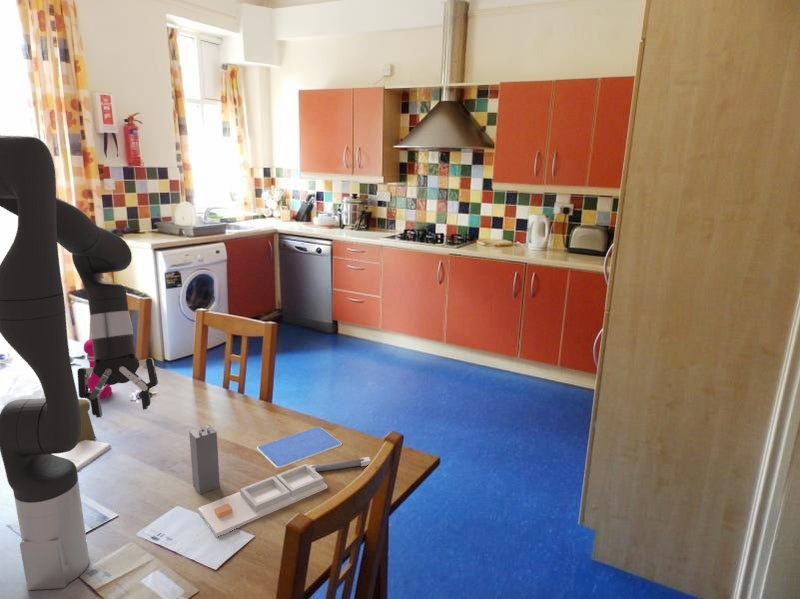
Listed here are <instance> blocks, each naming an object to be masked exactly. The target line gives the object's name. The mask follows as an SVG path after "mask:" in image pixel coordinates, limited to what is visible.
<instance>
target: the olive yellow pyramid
mask: <svg viewBox="0 0 800 599" xmlns="http://www.w3.org/2000/svg"><path fill="white" fill-rule="evenodd" d="M78 401H79V406H80V412H81V435H80V439H79V442H81V441H84V440H90V441H95V439H96V435H95V431H94V428H93V427H94V426H93V424H92V421H91V416H90V414H89V411H90V409H91V406H90V405H91V404H90V401H88V400H86V399H85V398H80V399H79V398H78ZM79 442H78V443H79Z"/></svg>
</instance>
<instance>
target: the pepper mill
mask: <svg viewBox="0 0 800 599" xmlns="http://www.w3.org/2000/svg"><path fill="white" fill-rule="evenodd" d="M83 351H84V353H85V354H86V360H87V361H88V362H89V368H93V367H94V365H95V359H94V351H93V344H92V336H91V335H90V339H87V340H86V341H85V342H84V344H83ZM99 380H100V378H99V377H98V376H97V375H96V374H95V373H94V372H93V373H92V374H91V377H90V378H88V392H92V391H93V390H94V388H95V386H96V384H97V383H98V381H99ZM112 389H113V388H112V386H111V385H108V384H107V385H106V386H105V388H104V389H103V390H102V392H101V393H100V395H99V398H100V399H103V398H102V397H104V398H107V397H109V396H111V395H112V393H113V390H112ZM110 394H111V395H110ZM108 395H109V396H108ZM106 396H107V397H106Z"/></svg>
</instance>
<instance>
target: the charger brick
mask: <svg viewBox="0 0 800 599" xmlns="http://www.w3.org/2000/svg"><path fill="white" fill-rule="evenodd" d="M188 432H189V445H190V457H191V458H190V459H191V471H192V473H191V474H192V484H193V488H195V491H197V494H199V495H202V494H205V493H207V492H210V491H213V490H216V489H218V488H220V487H221V486H220V485H221V482H220V466H219V465H220V464H219V450H218V449H219V448H218V435H217V434H218V433H217V431H216V429H214V428H213V427H212V426H211V424H209V425H205V426H202V427H198V428H195V429H192V430H189V431H188Z"/></svg>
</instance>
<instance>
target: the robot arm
mask: <svg viewBox="0 0 800 599" xmlns="http://www.w3.org/2000/svg"><path fill="white" fill-rule="evenodd" d="M0 208H3V210H6V211H8V212H9V213H12V214H13V215H16V216H17V228H16V229H17V230H16V234H15V237H14V239H13V242H12V243H11V246H10V247H9V249H8V251H7V253H6V254H5V256H4V257H3V259H2V261H1V262H0V334H1V336H2V337H3V339H4V340H5V341H6V342H7V343H8V344H9V346H10V347H11V348H12V349H13V350H14V351H15V352H16V353H17V355H19V356H20V358H22V359H23V360H24V362H25V363H27V365H28V366H29V367H30V368H31V369H32V370H33V372H34V373H35V375H36V377H37V379H38V380H39V382H40V385H41V388H42V390H43V394H44V397H45V398H44V397H43V398H42V397H41V398H24V399H23V398H22V399H15V400H11V401H9V402H8V403H7V404H6V405H5V406H4V407H3V408H2V409H1V411H0V455H1V459H2V462H3V466H4V470H5V475H6V479H7V483H8V486H9V487H10V488H11V489H12V492H13V497H14V501H15V502H14V503H15V508H16V514H17V520H18V526H19V533H20V538H21V542H20V543H19V549H20V554H21V560H22V566H23V572H24V576H25V584H26V590H27V591H31V590H32V591H34V590H49V589H50V590H53V589H66V588H67V586H68V585H69V583H71V582H73V581H74V580H75V579H77V578H78V577H79V576H81V575H82V574H83V573H84V572H85V570H86V569H87V568H88V566H89V563H90V556H89V548H88V540H87V534H86V527H85V519H84V512H83V506H82V498H81V490H80V483H79V475H78V471H77V468H76V466H75V464H74V463H73V462H72V461H70V460H68V459H65V458H62V457H58V456H59V455H58V456H57V455H56V454H62V453H64V452H68V451H71V450H72V449H74V448H75V447H76V445H77V444H78V442H79V439H80V435H81V412H80V406H79V401H78V399H79V398H80V399H88V400H89V402H90V405H91V406H90V409H91V414H92V415H93V416H95V417H96V419H98V418H102V417H103V410H102V402H101V398H99V395H100V393H101V392H102V390H103V389H104V388H105V386H106V385H107V384H108V385H110V386H114V385H117V384H126V383H129V382H132V384H134V385H135V386H137V387H138V388H139V389H140V391H141V392H140V396H141V397H140V398H141V399H140V400H141V405H142V407H141V408H142V410H143V411H145V410H148V408H149V406H151V402H152V401H151V394H150V390H151V388H154V387H156V386H157V385H158V383H159V380H158V375H157V370H156V365H155V360H154V358H153V357H148V358H147V359H140V360H139V359H138V357H137V354H136V344H135V339H134V327H133V323H132V318H131V316H130V311H129V303H128V297H127V296H128V295H127V290H126V287H125V286H124V285H123V284H120V283H111V282H109V283H108V282H104V281H103V280H102V278H101V277H100V274H107V273H108V274H109V273H116V272H118V273H119V272H121V271H124V270H126V269H128V267H129V266H130V265H131V263H132V260H133V259H132V257H133V256H132V251H131V249H130V247H129V245H128V243H127V242H126V241H125V240H124V239H123V237H121V236H119V235H117V234H115V233H113V232H111V231H109V230H107V229H105V228H104V227H100V226H98V225H97V224H96V223H95V222H94V221H93V219H91V218H90V217H89V216H88V215H87V214H86V213H85V212H83V210H81V209H80V208H79V207H77V206H75V205H73V204H72V203H70V202H67V201H65V200H64V199H61V198H59V197H57V177H56V168H55V164H54V159H53V156H52V153H51V151H50V149H49V147H48V146H47V145H46V143H45V142H44V141H42V140H41V139H40V138H38V137H35V136H28V135H5V134H4V135H2V134H0ZM58 245H60V246H61V247H62V248H63V249H65V250H66V251H67V252H69V253H70V254H71V259H72V263H73V266H74V267H75V269H76V271H77V273H78V276H79V278H80V280H81V282H82V285H83V287H84V289H85V292H86V293H85V294H86V296H87V301H88V302H87V303H88V309H89V317H90V319H89V322H90V324H89V325H90V326H89V327H90V334H91V335H90V336H92V344H93V351H94V359H95V365H94V367H93V368H90V367H80V368H78V369H77V384H78V385H77V386H78V388H77V387H76V383H75V378H74V373H73V368H72V364H71V358H70V349H69V347H70V346H69V341H68V340H69V339H68V329H67V315H66V314H67V313H66V303H65V296H64V288H63V281H62V274H61V268H60V267H61V266H60V258H59V248H58ZM140 366H142V368H143V369H145V370H147V373H148V380H149V382H146V381H145V380H144V379H143V378H142V377H141V376H139V375H138V374H137V372H138V369H139V368H140ZM93 372H94V373H95V374H96V375H97V376H98V377H99V378H100V380H99V381H98V383H97V384H96V386H95V388H94V390H93V391H92V392H89V388H88V378H90V377H91V374H92V373H93ZM77 389H78V392H77Z"/></svg>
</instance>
